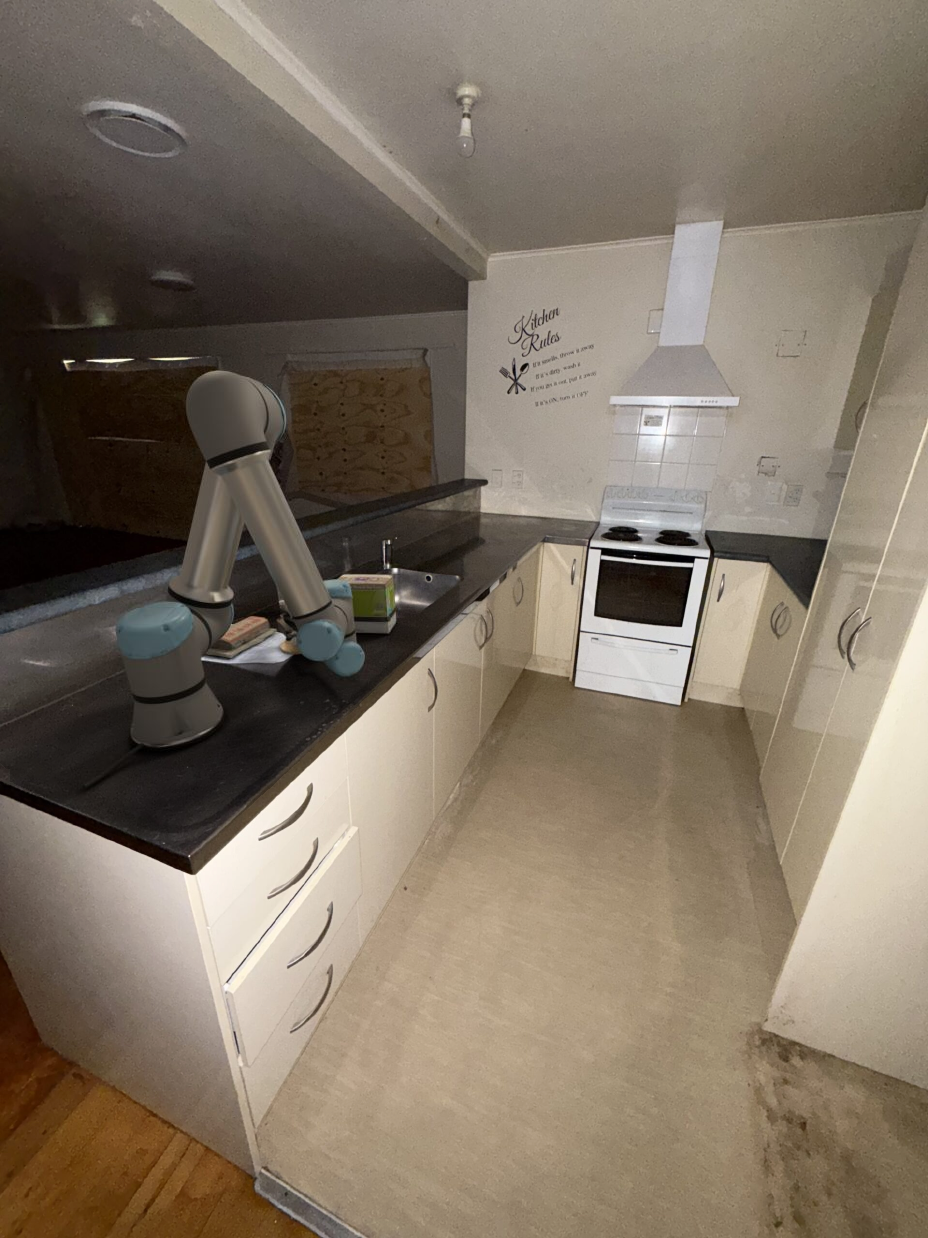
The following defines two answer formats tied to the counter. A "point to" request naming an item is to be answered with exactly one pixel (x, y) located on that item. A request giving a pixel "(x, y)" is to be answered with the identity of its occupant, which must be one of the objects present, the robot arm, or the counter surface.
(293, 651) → the birch coaster
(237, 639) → the packaged product
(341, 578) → the tea box
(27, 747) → the counter surface
